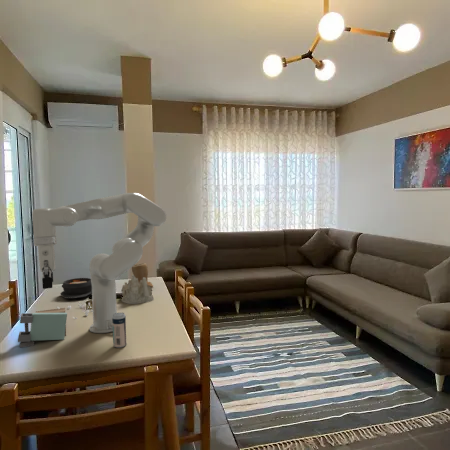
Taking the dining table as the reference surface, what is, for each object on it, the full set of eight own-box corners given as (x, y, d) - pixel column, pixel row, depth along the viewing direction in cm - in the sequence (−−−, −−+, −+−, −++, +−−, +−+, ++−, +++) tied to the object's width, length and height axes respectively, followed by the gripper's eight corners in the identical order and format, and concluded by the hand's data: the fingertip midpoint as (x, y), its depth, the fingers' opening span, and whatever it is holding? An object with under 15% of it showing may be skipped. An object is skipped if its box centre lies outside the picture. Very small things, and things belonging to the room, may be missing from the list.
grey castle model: (155, 300, 190) (153, 272, 189) (124, 306, 183) (121, 277, 182) (148, 295, 204) (146, 269, 203) (119, 300, 197) (116, 273, 196)
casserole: (65, 290, 213) (64, 276, 212) (98, 288, 217) (97, 275, 217) (55, 302, 189) (54, 287, 188) (93, 300, 193) (92, 284, 192)
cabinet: (25, 331, 148) (23, 304, 147) (65, 325, 154) (64, 299, 153) (20, 347, 132) (18, 317, 131) (66, 340, 139) (64, 311, 138)
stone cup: (131, 285, 223) (131, 262, 222) (151, 284, 226) (150, 260, 225) (132, 292, 208) (132, 266, 207) (153, 290, 212) (152, 265, 211)
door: (18, 338, 136) (21, 312, 135) (64, 336, 142) (66, 311, 142) (17, 341, 132) (20, 315, 132) (64, 340, 139) (67, 314, 138)
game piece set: (102, 312, 173) (102, 304, 172) (61, 324, 157) (61, 315, 157) (81, 305, 185) (81, 297, 185) (41, 315, 170) (41, 307, 169)
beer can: (129, 345, 133) (128, 313, 132) (117, 349, 130) (116, 317, 129) (122, 342, 136) (121, 311, 135) (110, 346, 133) (109, 314, 132)
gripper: (55, 242, 129) (58, 289, 130) (56, 237, 145) (59, 279, 146) (32, 244, 126) (35, 292, 127) (35, 239, 142) (38, 281, 143)
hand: (48, 285), depth 137 cm, fingers open, 9 cm apart
